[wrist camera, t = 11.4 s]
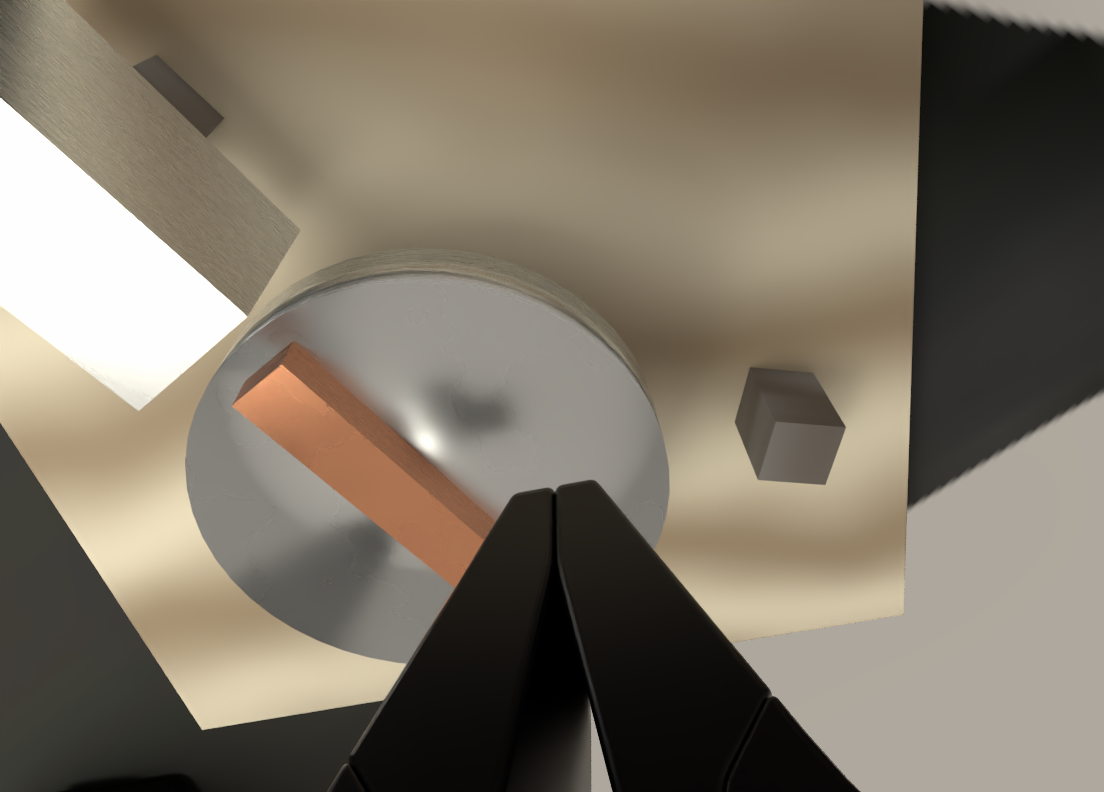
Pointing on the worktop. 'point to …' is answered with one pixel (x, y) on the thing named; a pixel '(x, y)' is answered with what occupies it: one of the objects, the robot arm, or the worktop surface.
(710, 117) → the base plate
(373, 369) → the grey piece
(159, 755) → the worktop surface
